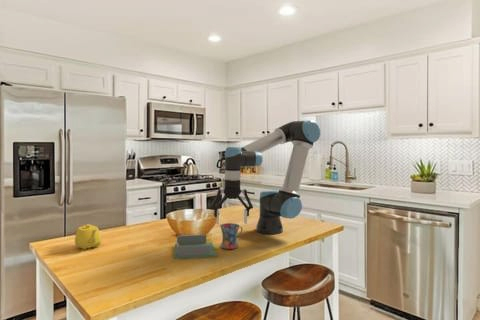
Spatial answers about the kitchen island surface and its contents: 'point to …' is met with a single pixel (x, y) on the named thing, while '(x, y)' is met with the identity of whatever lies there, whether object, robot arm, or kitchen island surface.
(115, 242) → the kitchen island surface
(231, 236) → the mug
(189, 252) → the grey stepped block
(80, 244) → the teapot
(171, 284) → the kitchen island surface
